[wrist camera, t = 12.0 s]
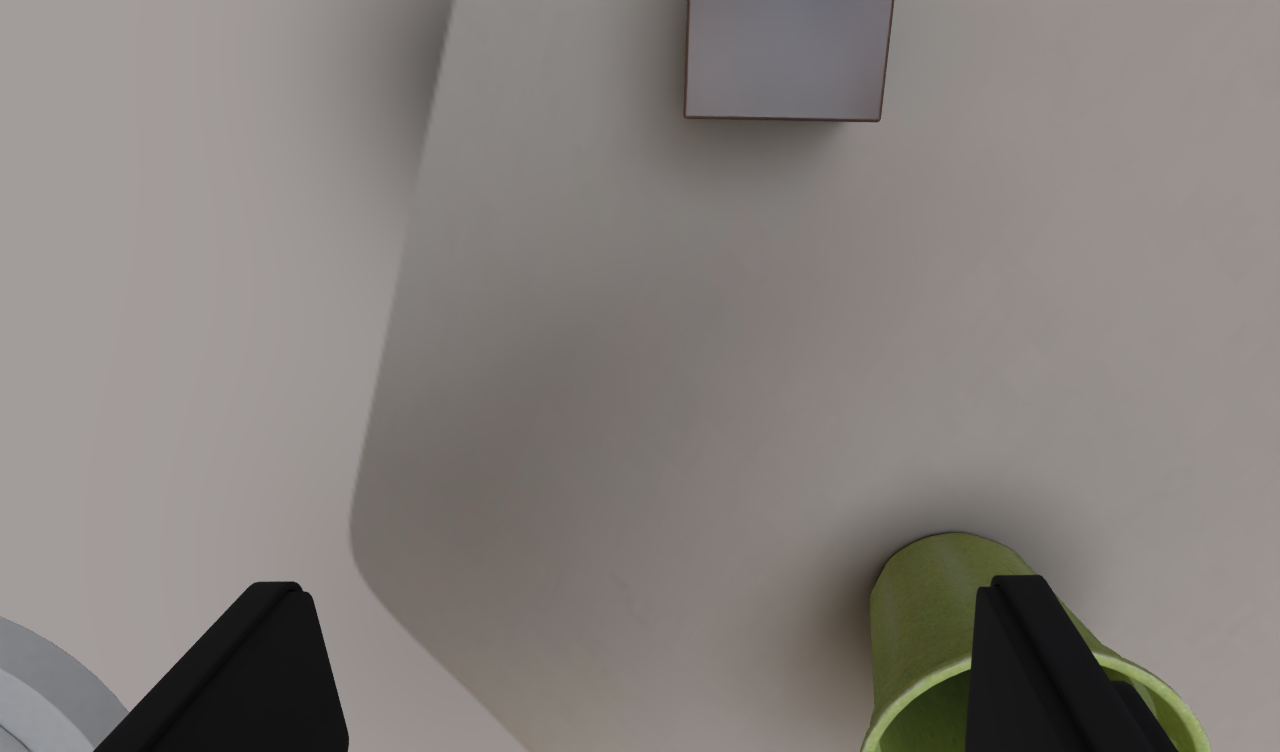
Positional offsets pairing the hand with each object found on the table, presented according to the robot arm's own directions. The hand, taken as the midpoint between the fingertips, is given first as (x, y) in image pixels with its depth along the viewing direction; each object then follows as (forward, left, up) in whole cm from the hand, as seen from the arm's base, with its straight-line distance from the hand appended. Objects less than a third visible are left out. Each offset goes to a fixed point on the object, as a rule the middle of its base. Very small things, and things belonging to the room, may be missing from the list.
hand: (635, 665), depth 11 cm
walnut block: (+2, +9, -18) cm, 20 cm away
